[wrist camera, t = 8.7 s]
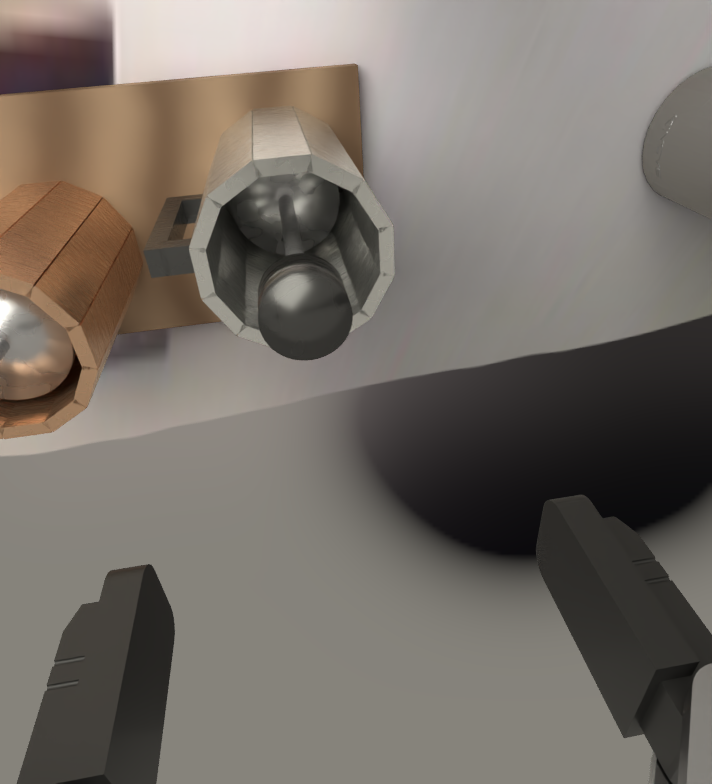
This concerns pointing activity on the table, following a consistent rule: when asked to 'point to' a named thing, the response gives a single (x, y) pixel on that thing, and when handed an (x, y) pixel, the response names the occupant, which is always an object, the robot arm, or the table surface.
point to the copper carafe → (66, 287)
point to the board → (159, 152)
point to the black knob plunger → (30, 349)
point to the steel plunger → (296, 263)
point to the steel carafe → (245, 259)
